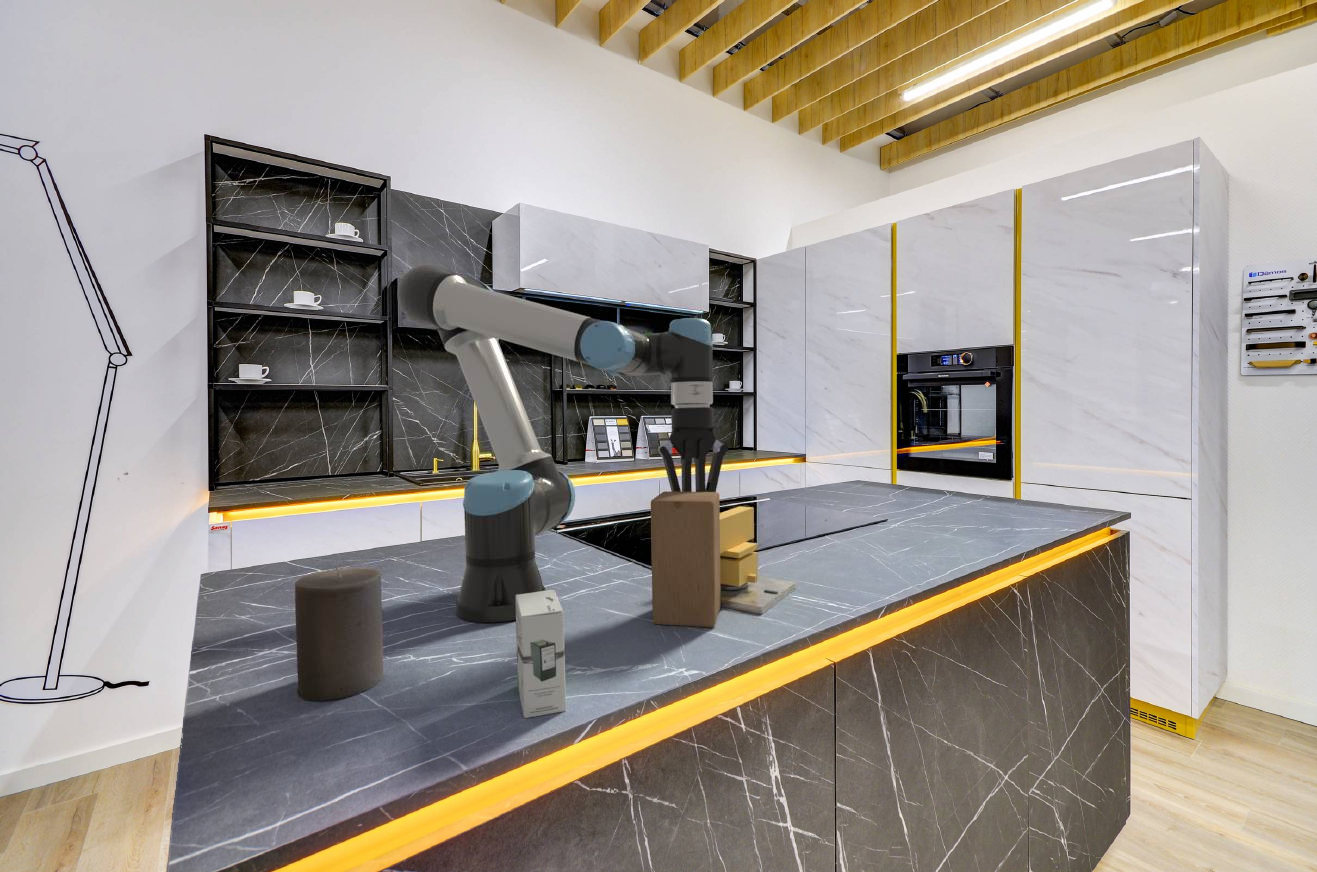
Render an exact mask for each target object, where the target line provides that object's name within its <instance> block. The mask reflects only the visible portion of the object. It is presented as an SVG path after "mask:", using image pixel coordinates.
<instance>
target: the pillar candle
mask: <svg viewBox="0 0 1317 872" xmlns="http://www.w3.org/2000/svg"><path fill="white" fill-rule="evenodd" d="M382 576H383V572H381V570H377V569H376V568H369V567H343V568H339V567H338V566H336V567H335V568H334V569H329V570H323V571H317V572H313V573H309V574H307V575H304V576H302V577H300V578H299V579H297V580H296V581H295V583H294V599H295V600H294V603H295V604H294V605H295V611H294V612H295V643H296V668H297V669H296V670H297V695H298V696H299V697H301V698H302V699H304V700H305V701H310V702H311V701H312V702H325V701H335V700H340V699H344V698H350V697H352V696H353V697H354V696H356V695H359V694H362V693H364V692H366V691H368V690H370V689H372V688H373V687H375V686H376V685H377V684H378V683H379V682H380V681H382V679H383V677H384V639H383V637H384V635H383V608H382V607H383V605H382V604H383V603H382Z"/></svg>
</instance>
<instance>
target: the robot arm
mask: <svg viewBox="0 0 1317 872" xmlns="http://www.w3.org/2000/svg"><path fill="white" fill-rule="evenodd" d="M396 292H397V301H398V305H399V307H400V309H401V312H403V314H404V315H405V316H406V317H407V318H408V319H409V320H410V321H411V322H412V323H414V324H415V325H417V326H420V327H422V328H427V329H428V330H430V329H431V330H434V331H437V332H438V334H439V336H440V339H441V342H442V345H443V347H444V349H445V350H446V352H448V353H450V354H453V355H455V356H456V358H457V361H458V363H459V365H460V368H461V371H462V373H463V376H464V379H465V382H466V383H467V386H468V389H469V392H470V394H471V397H472V400H473V402H474V405H475V407H476V409H477V412H478V415H479V417H480V419H481V422H482V425H483V427H484V431H485V432H486V435H487V437H488V440H489V443H490V445H491V448H492V451H493V454H494V455H495V458H496V461H497V463H498V468H497V470H496V471H494V472H487V473H482V474H479V475H476V476H473V477H472V478H470V479H469V480H468V481H467V482H466V484H465V485H464V493H463V494H464V497H463V501H462V507H463V511H464V512H463V513H464V536H465V540H464V541H465V542H464V543H465V565H466V566H465V570H464V573H463V578H462V580H461V586H460V589H459V590H460V591H459V593H458V596H457V597H456V614H457V616H458V617H459V618H461V619H463V620H465V621H470V622H473V623H501V622H509V621H511V622H512V621H516V595H518V594H526V593H533V592H539V591H546V590H547V589H546V587H545V586H544V585H543V579H542V577H541V574H540V570H539V568H538V565H537V562H536V539H535V538H536V537H535V536H538V535H540V534H541V533H545V532H548V531H550V530H553V529H556V528H557V527H558V526H560V525H561V524H562V523H564V521H566V520H567V519H568V517H569V516H570V515H571V513H572V512H573V509H574V506H575V503H576V491H575V487H574V484H573V482H572V481H571V479H570V478H569V476H568V475H567V474H565V473H564V472H562V471H560V470H559V469H558V468H557V466H556V463H555V461H554V458H553V456H552V454H550V453H547V452H546V451H543V450H542V448H541V446H540V444H539V441H538V439H537V437H536V433H535V431H534V429H533V426H532V424H531V420H530V419H529V415H528V414H527V412H526V409H525V407H524V404H523V401H522V399H521V396H520V394H519V391H518V389H517V386H516V384H515V381H514V379H513V376H512V373H511V371H510V369H509V366H508V364H507V360H506V358H505V356H504V354H503V351H502V348H501V345H500V343H499V340H503V341H506V342H509V343H513V344H517V345H519V346H523V347H526V348H531V349H532V350H533V349H534V350H537V351H540V352H543V353H548V354H551V355H554V356H557V357H562V358H563V359H569V360H572V361H574V362H578V363H582V364H585V365H587V366H592V367H594V368H595V369H597V370H599V371H600V370H601V371H604V372H608V374H609V375H611V376H613V377H627V378H629V377H632V376H634V377H635V376H651V375H652V376H653V375H670V404H671V405H672V406H674V408H671V410H670V412H671V416H670V417H671V432H670V435H669V438H668V441H667V442H665V443H664V444H663V445H658V446H657V448H656V449H657V450H656V451H657V452H658V453H659V455H660V456H661V458H662V460H663V463H664V468H665V472H666V475H667V479H668V483H669V488H670V490H671V491H670V492H693V491H692V488H693V487H692V486H693V485H692V483H693V482H692V464H693V462H694V476H695V479H694V481H695V492H717V488H718V485H719V484H718V483H719V479H720V473H721V469H722V464H723V460H724V456H725V455H726V453H727V452H728V450H729V445H727V444H724V443H723V442H720V441H719V440H718V439H717V436H716V434H715V431H714V409H713V407H710V405H712V404H713V402H714V397H713V396H714V395H713V394H714V393H713V392H714V390H713V389H714V388H713V387H714V386H713V348H714V347H713V346H714V344H713V338H712V326H711V323H710V322H709V321H707V319H704V318H698V317H697V318H696V317H689V318H688V317H685V318H680V319H679V318H678V319H673V320H672V321H671V322H670V323H669V328H668V331H664V332H657V333H656V332H655V333H639V332H637V331H635V330H633V329H631V328H630V329H629V328H626V327H625V326H623V324H620V323H618V322H617V323H616V322H613V321H609V320H601V319H598V318H597V319H596V318H592V317H591V316H586V315H582V314H579V313H575V312H571V311H568V310H564V309H562V308H561V309H560V308H558V307H557V308H556V307H552V306H549V305H546V304H542V303H539V302H534V301H530V300H528V299H527V300H526V299H524V298H520V297H515V296H512V295H509V294H505V293H500V292H498V291H494V290H493V289H492V288H491V287H490V286H488V285H487V284H485V283H484V282H482V281H481V280H479V279H476V278H474V277H469V276H465V275H463V274H460V273H458V272H455V271H452V270H449V269H447V268H445V267H442V266H438V265H432V264H423V265H419V266H415V267H413V268H410V269H409V270H408V271H407V272H405V274H403V276H401V279H400V281H399V283H398V285H397V291H396ZM673 449H674V450H675V452H676V453H677V454H678V455H679V457H680V465H681V467H680V468H681V486H680V483H679V479H678V475H677V471H676V467H675V462H674V459H673V457H672V454H673ZM711 449H712V451H713V454H712V457H711V458H712V459H711V463H710V468H709V472H708V477H707V480H706V463H707V461H706V460H707V458H706V457H707V455H708V453H709V452H710V451H711ZM693 458H694V459H693ZM693 460H694V461H693ZM706 481H707V482H706Z"/></svg>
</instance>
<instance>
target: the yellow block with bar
mask: <svg viewBox="0 0 1317 872" xmlns="http://www.w3.org/2000/svg"><path fill="white" fill-rule="evenodd" d="M754 510H755V508H754V507H753V506H752V507H751V506H737V507H733V508H730V509H728V510H725V511H723V512H720V556H726V557H733V558H738V559H736V560H734V559H727V558H720V584H726V585H732V586H737V587H740V586H741V585H743V584H745V583H746V582H751V583H756V582H758V576H759V574H758V572H759V570H758V564H759V562H758V561H759V558H758V552H757V551H756V550H758V543H757V542H749V541H750V540H752V539H754V538H755V521H754V518H755V516H754V515H755V514H754V513H755V511H754ZM755 551H756V552H755Z"/></svg>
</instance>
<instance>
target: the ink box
mask: <svg viewBox="0 0 1317 872" xmlns="http://www.w3.org/2000/svg"><path fill="white" fill-rule="evenodd" d="M564 623H565V622H564V609H563V607H562V604H561V602H560V600H559V598H558V595H557V594H556V591H555V589H546V591H539V592H533V593H526V594H518V595H516V620H515V626H516V627H515V628H516V630H515V632H516V633H515V634H516V635H515V636H516V637H515V638H516V669H517V671H516V672H517V675H516V676H517V677H516V678H517V683H516V684H517V685H516V686H517V689H518V695H519V701H520V705H521V709H522V711H521V712H522V714H523V718H524V719H528V718H533V717H541V716H545V715H550V714H556V713H561V712H565V711H566V710H567V704H566V703H567V697H566V696H567V691H566V688H567V687H566V664H565V663H566V662H565V661H566V659H565V657H566V656H565V625H564Z"/></svg>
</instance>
